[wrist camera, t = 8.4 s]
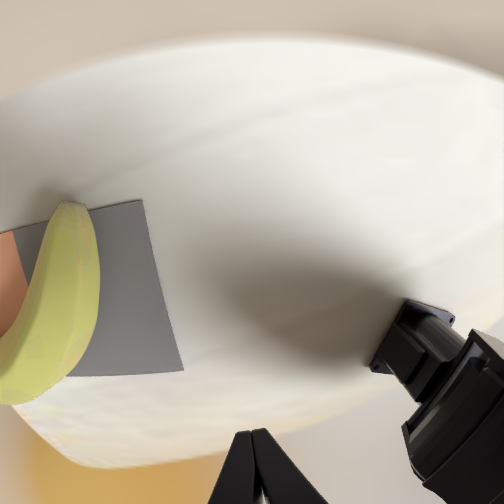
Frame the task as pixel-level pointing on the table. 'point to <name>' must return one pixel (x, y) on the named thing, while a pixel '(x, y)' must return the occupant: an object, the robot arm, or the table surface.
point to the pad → (10, 282)
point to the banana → (53, 309)
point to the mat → (119, 296)
